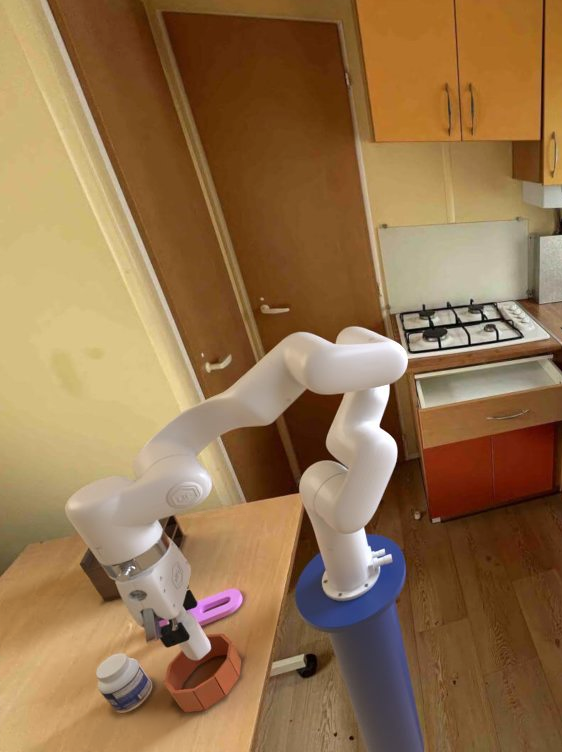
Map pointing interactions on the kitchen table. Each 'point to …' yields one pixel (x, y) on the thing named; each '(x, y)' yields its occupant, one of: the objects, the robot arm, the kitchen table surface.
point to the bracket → (212, 601)
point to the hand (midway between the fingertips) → (182, 624)
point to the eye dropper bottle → (193, 636)
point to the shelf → (108, 585)
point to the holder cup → (210, 688)
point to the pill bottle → (123, 682)
